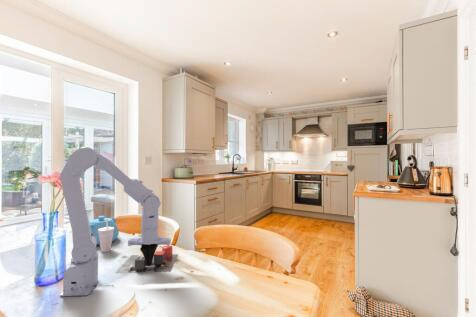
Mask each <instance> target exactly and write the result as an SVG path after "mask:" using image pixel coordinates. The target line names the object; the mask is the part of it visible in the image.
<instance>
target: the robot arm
mask: <svg viewBox="0 0 476 317" xmlns="http://www.w3.org/2000/svg"><path fill="white" fill-rule="evenodd" d="M92 167H94V169H97V170H101V171H104V172H105V173H107V174H109V175H110V176H111V177H112V178H113V179H115V180H116V181H117V182H119V183H120V184H121V185H122V186H123V192H124V193H125V194H127V195H128V196H129V197H130V198H132V199H133V200H134V201H135V202H136V203H139V204H140V206H141V207H142V211H141V212H142V213H141V226H140V227H141V229H140V230H141V232H140V233H141V236H140V237H137V238H136V237H135V238H129V239H127V241H128V242H127V247H131V246H141V247H140V248H139V250H140V251H141V253H142V254H143V255H144V258H145V261H146V265H147V266H151V264H152V261H153V257H154V254H155V253H156V250H157V248H158V246H162V245H163V246H167V245H171V244H172V240H171V239H172V238H171V237H161V236H160V237H159V208H160V206H161V201H160V198H159V196H157V195H156V194H155V193H154V192H153V190H152V189H149V188H148V187H146V186H145V185H144V184H143V181H142V180H141V179H139V180H138V179H137V178H130V177H129V176H128V175H127V174H126V173H125V172H123V171H122V170H121V169H120V168H119V167H118V166H116V165H115V163H114V162H112V161H111V160H110V159H108V158H107V157H105V156H103V154H100V153H97V151H96V150H95V149H93V148H91V147H90V146H89V147H88V146H81V147H79V148H77V149H76V150H75V151H73V152H72V153H71V154H70V155H69V156H68V158H67V161H66V163H65V165H64V167H63V169H62V170H61V172H60V175H59V180H60V184H61V187H62V188H61V189H62V192H63V196H64V202H65V205H66V210H67V214H68V215H67V216H68V219H69V224H70V227H71V231H72V238H71V239H72V245H73V246H72V249H71V259H70V264H69V266H68V267H67V269H65V271H64V273H63V279H62V280H63V284H62V286H63V287H62V292H61V293H60V294H59V296H60V297H78V296H79V297H81V296H82V297H83V296H88V295H89V294H91V292H93V291H94V290H95V289H96V288H97V287H98V284H97V282H98V279H99V253H98V252H97V246H98V245H97V238H96V236H95V235H94V234H93V233H92V230H91V227H90V224H89V223H90V221H89V216H88V212H87V207H86V203H85V197H84V195H83V194H84V192H83V189H82V184H81V179H80V178H81V177H82V176H83V175H84V174H85V173H86V171H87V170H88V169H90V168H92Z"/></svg>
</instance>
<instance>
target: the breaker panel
mask: <svg viewBox="0 0 476 317" xmlns="http://www.w3.org/2000/svg"><path fill="white" fill-rule="evenodd" d="M178 256H179V254H178V253H177V254H176V253H175V254H173V253H172V258H170V259H165V261H164V262H163V264H154V257H153V261H152V264H151V266H146V267H145V269H135V260H136V258H137V257H144V255H143V253H142V254H131V255H130V256H129V257H128V258H127V259H126V260H125V261H124V262H123V264H122V265H121V266H120V267H119V268H118V269H117V270H116V271H114V274H125V273H127V274H131V273H169V272H170V273H171V271H172V270H173V268H174V264H175V263H176V260H177V259H178Z"/></svg>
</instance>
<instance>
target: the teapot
mask: <svg viewBox="0 0 476 317" xmlns="http://www.w3.org/2000/svg"><path fill="white" fill-rule="evenodd" d="M106 219H108V227H114V231H113V237H112V242H113V241H115V240H116V239H117V238H118V237H119V233H120V232H119V228H118V225H117V224H116V223H117V219H116V218H115V217H106V216H105V215H99V216H97V218H96V219H92V220H91V221H89V224H90V227H91V230H92V233H93V234H94V235H95V236H96V238H97V245H96V246H100V239H99V233H98V229H100V228H103V227H106Z"/></svg>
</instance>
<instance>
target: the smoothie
mask: <svg viewBox="0 0 476 317" xmlns="http://www.w3.org/2000/svg"><path fill="white" fill-rule="evenodd" d="M113 231H114V227H108V219H106V227H103V228H100V229H98V233H99V239H100V245H99V246H100V252H101V253H108V252H110V251H111V248H112V242H113V241H112V237H113Z"/></svg>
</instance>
